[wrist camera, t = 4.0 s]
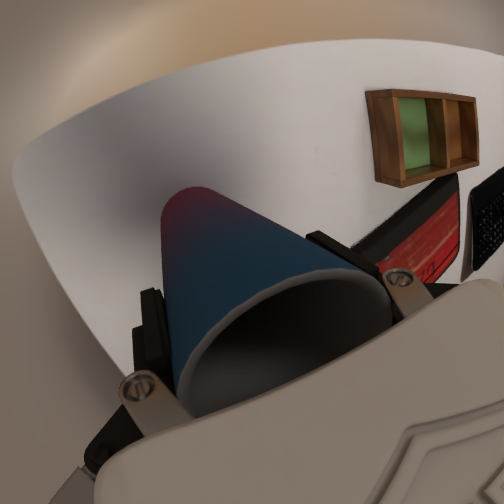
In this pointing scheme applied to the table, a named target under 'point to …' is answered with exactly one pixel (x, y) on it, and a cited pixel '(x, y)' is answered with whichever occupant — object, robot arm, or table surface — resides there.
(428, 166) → the wooden compartment tray
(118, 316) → the table surface
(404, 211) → the binder
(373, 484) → the robot arm
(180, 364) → the cup
